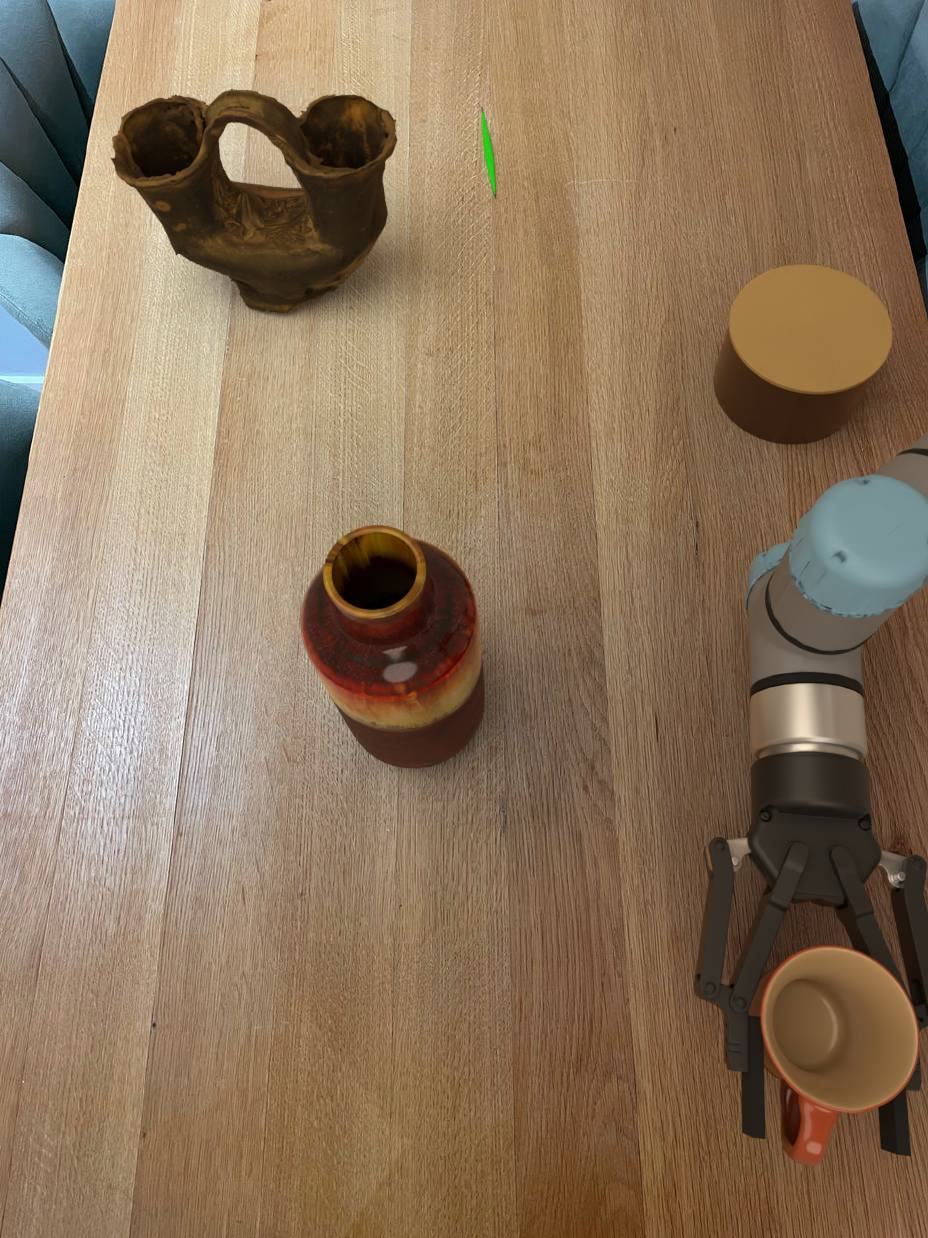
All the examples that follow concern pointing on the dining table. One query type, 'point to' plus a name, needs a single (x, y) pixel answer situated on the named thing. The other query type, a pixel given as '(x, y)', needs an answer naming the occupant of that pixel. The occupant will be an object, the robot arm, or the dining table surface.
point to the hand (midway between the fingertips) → (824, 1143)
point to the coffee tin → (800, 352)
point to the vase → (397, 645)
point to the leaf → (488, 153)
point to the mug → (833, 1041)
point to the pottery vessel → (264, 189)
